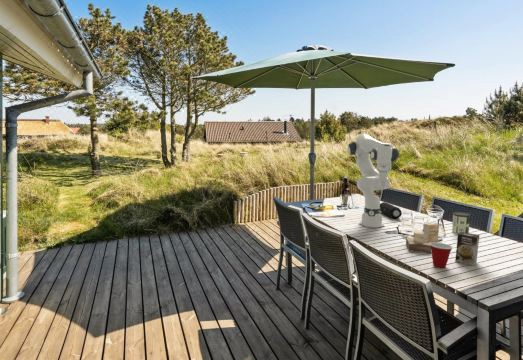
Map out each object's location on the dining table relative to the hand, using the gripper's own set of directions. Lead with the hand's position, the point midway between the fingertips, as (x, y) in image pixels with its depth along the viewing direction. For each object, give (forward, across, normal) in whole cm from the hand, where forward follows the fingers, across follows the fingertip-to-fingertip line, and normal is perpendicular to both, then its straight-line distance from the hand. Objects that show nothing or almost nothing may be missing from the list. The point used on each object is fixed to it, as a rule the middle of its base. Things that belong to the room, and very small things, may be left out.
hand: (383, 187), depth 202 cm
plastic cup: (+35, +36, +31) cm, 59 cm away
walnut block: (+36, +12, +22) cm, 44 cm away
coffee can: (+35, -34, +52) cm, 71 cm away
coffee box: (+35, +25, +45) cm, 62 cm away
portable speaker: (+36, -67, +4) cm, 76 cm away
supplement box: (+35, -2, +30) cm, 46 cm away
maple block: (+30, +12, +22) cm, 39 cm away
